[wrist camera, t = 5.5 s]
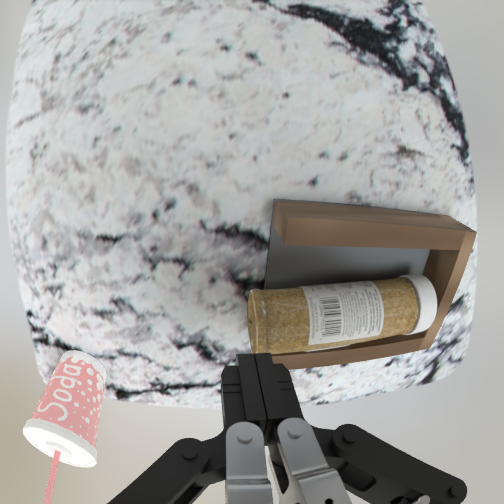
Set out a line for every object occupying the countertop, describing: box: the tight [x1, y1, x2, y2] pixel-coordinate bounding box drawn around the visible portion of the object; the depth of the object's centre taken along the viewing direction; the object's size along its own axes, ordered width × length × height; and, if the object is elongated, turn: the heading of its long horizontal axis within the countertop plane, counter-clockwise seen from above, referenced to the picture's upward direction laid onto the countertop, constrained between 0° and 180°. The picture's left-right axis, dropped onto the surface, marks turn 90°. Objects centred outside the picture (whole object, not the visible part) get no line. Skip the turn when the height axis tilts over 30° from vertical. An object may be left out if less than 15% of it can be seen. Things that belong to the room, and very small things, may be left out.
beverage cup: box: [23, 350, 106, 504], centre depth 16 cm, size 6×6×14 cm
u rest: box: [264, 199, 477, 370], centre depth 20 cm, size 11×15×4 cm
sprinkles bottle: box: [247, 274, 437, 354], centre depth 19 cm, size 5×5×13 cm
